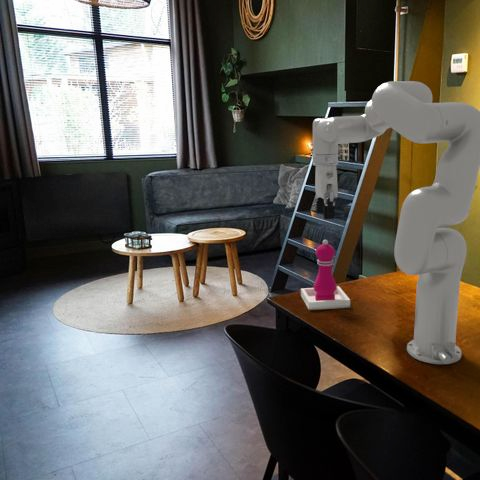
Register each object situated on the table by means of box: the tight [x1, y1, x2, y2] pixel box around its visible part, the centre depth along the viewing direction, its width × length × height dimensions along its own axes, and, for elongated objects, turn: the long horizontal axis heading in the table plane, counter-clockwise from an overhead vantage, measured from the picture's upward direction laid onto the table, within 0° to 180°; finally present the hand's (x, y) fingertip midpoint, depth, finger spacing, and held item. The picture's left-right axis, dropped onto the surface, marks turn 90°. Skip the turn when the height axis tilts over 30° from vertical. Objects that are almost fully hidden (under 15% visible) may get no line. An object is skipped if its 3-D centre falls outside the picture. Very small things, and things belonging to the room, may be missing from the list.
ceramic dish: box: [300, 285, 351, 311], centre depth 158 cm, size 13×13×2 cm
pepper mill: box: [313, 239, 338, 301], centre depth 156 cm, size 7×7×20 cm
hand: (325, 215), depth 152 cm, fingers open, 9 cm apart
